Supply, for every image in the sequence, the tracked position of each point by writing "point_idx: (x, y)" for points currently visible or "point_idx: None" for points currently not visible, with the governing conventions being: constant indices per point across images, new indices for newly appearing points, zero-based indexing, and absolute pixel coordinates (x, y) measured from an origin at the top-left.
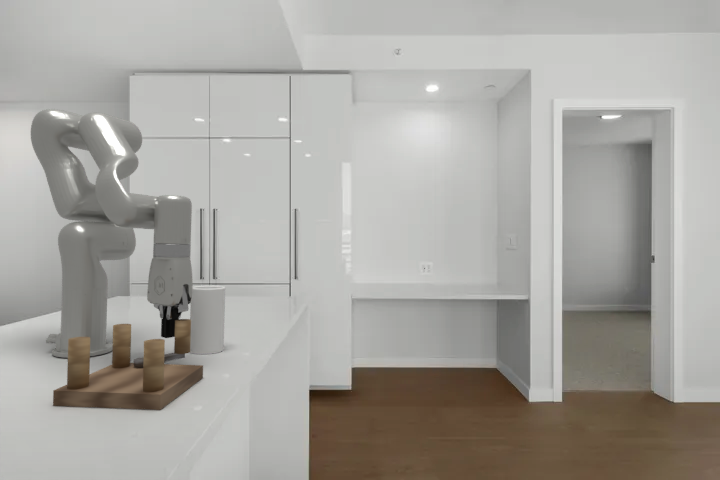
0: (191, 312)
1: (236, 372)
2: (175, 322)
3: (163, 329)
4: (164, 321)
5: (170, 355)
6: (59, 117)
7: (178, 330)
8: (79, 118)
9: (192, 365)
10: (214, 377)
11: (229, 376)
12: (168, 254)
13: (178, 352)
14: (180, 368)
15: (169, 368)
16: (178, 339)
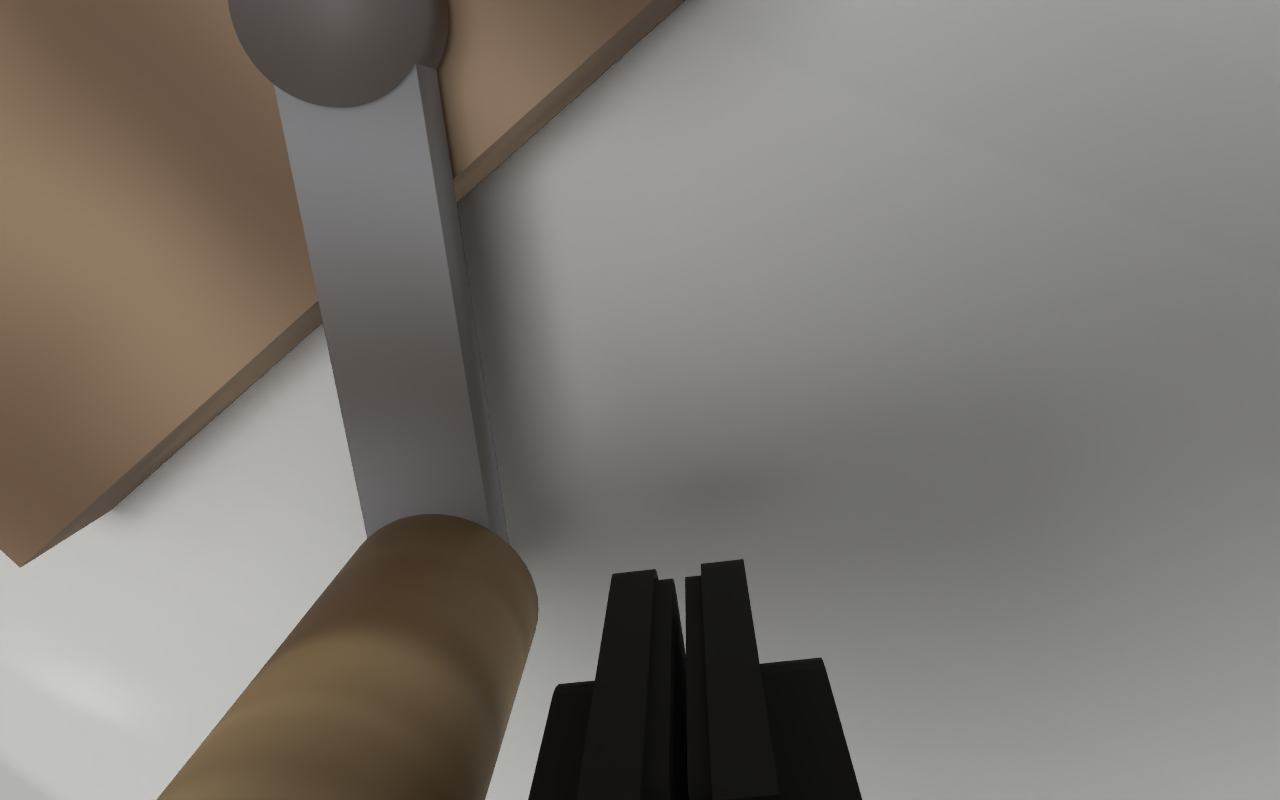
0: None
1: (118, 782)
2: None
3: (689, 644)
4: (638, 766)
5: (355, 421)
6: None
7: (218, 731)
8: None
9: (79, 491)
10: (74, 588)
11: (33, 685)
12: None
13: (373, 538)
14: (18, 338)
15: (89, 249)
16: (297, 631)
